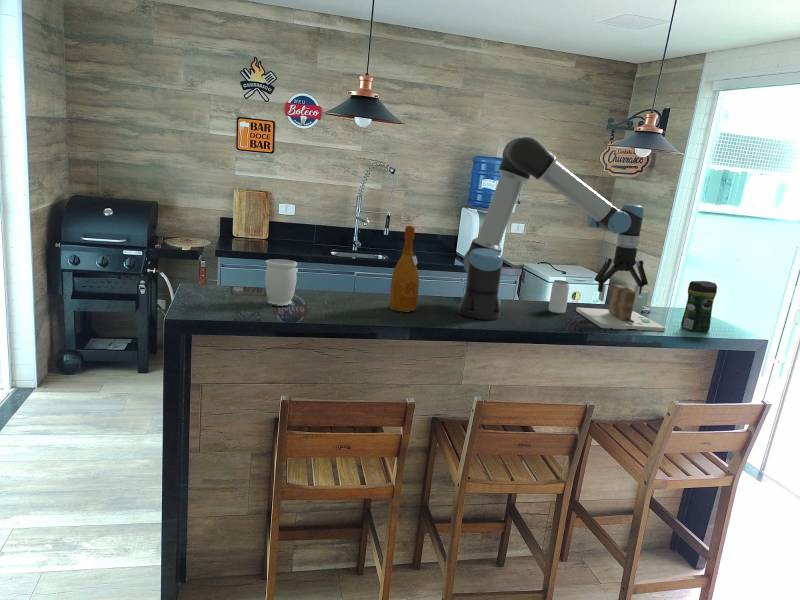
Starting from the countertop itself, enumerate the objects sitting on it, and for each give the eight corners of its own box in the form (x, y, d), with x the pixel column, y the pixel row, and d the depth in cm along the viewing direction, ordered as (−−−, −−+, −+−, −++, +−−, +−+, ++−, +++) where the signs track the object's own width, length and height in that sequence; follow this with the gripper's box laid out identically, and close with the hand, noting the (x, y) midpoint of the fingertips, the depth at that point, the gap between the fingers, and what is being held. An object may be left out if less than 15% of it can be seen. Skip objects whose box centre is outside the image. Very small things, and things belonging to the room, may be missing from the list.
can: (563, 310, 234) (568, 280, 232) (566, 314, 228) (571, 284, 226) (547, 308, 235) (551, 279, 232) (549, 312, 229) (554, 282, 226)
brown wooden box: (608, 312, 230) (613, 284, 228) (615, 312, 231) (620, 285, 228) (628, 323, 214) (633, 294, 212) (636, 324, 214) (641, 294, 212)
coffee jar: (695, 326, 228) (705, 279, 223) (712, 332, 220) (723, 283, 216) (676, 326, 224) (685, 278, 220) (692, 332, 217) (702, 283, 213)
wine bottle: (397, 314, 206) (404, 227, 199) (384, 307, 214) (391, 224, 207) (421, 312, 211) (429, 228, 204) (407, 306, 219) (415, 224, 212)
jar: (263, 307, 199) (265, 263, 195) (264, 300, 209) (265, 258, 205) (295, 308, 201) (298, 265, 198) (294, 301, 211) (296, 259, 207)
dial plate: (601, 327, 212) (602, 323, 212) (576, 311, 235) (576, 306, 235) (664, 331, 215) (665, 327, 214) (633, 314, 238) (634, 310, 238)
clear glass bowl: (638, 315, 240) (641, 297, 238) (620, 308, 251) (623, 291, 249) (663, 316, 243) (666, 298, 241) (644, 308, 254) (647, 291, 253)
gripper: (599, 245, 217) (590, 301, 222) (663, 250, 220) (653, 305, 225) (591, 242, 225) (582, 297, 229) (653, 247, 227) (643, 300, 232)
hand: (617, 301), depth 227 cm, fingers open, 13 cm apart
